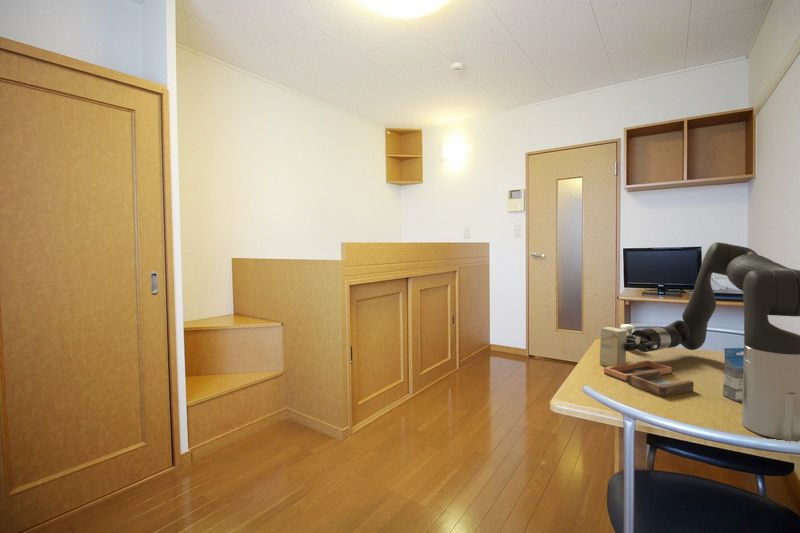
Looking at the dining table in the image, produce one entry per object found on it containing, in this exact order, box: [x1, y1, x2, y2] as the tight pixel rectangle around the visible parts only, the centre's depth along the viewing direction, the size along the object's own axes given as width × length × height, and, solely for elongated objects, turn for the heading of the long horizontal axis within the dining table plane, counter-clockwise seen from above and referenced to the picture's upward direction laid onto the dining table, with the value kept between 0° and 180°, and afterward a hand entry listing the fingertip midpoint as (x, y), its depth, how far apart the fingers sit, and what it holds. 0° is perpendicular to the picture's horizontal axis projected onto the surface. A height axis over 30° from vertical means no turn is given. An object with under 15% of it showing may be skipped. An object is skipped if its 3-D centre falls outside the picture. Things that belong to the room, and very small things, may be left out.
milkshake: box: [619, 322, 638, 334], centre depth 139 cm, size 4×5×10 cm
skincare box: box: [599, 326, 627, 367], centre depth 120 cm, size 6×4×12 cm
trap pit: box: [603, 360, 672, 383], centre depth 113 cm, size 8×18×2 cm, turn 109°
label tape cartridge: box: [722, 347, 744, 402], centre depth 93 cm, size 9×4×12 cm, turn 88°
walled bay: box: [627, 370, 695, 398], centre depth 102 cm, size 10×11×2 cm
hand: (613, 344), depth 120 cm, fingers open, 8 cm apart
